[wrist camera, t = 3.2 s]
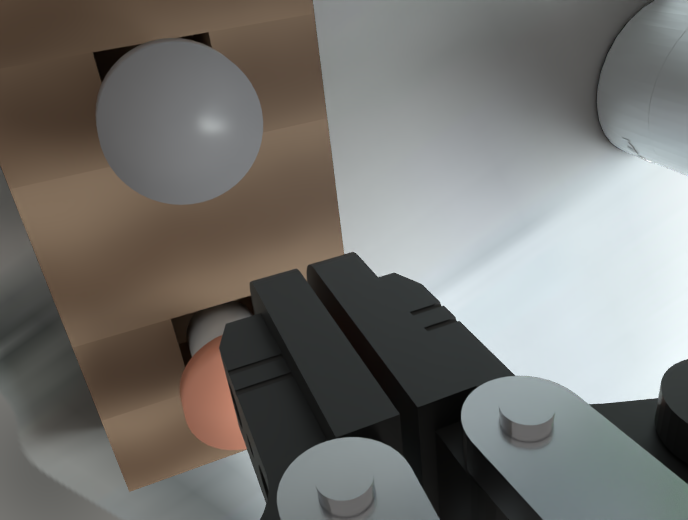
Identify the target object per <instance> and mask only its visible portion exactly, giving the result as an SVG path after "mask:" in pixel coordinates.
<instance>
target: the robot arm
mask: <svg viewBox="0 0 688 520" xmlns="http://www.w3.org/2000/svg"><path fill="white" fill-rule="evenodd" d="M597 110H598V116H599V122H600V124H601V127H602V129H603V132H604V134H605V135H606V136H607V138H608V139H609V140H610V142H611V143H612V144H613V145H615V146H616V147H618V148H619V149H620V150H623V151H625V152H628V153H630V154H633V155H635V156H638V157H639V158H641V159H643V160H646V161H648V162H651V163H654V164H655V163H656V164H658V165H661V166H663V167H666V168H669V169H671V170H674V171H676V172H679V173H681V174H684V175H686V176H688V0H654V1H653V2H651V3H650V4H648V5H647V6H645V7H644V8H642V9H641V10H640V11H639V12H638V13H637V14H636V15H635V16H634V17H633V18H632V19H631V20H630V21H629V22H628V23H627V24H626V25H625V27H624V28H623V29H622V31H621V32H620V33H619V35H618V36H617V38H616V39H615V41H614V43H613V45H612V47H611V49H610V51H609V52H608V54H607V57H606V60H605V62H604V65H603V68H602V71H601V75H600V80H599V85H598V90H597ZM306 274H307V281H306V279H305V278H304V276H303V275H302V274H301V272H300V271H299V270H298V269H292V270H289V271H285V272H282V273H278V274H275V275H271V276H268V277H264V278H261V279H257V280H254V281H250V293H251V299H252V303H253V308H254V313H255V315H253V316H250V317H246V318H243V319H240V320H236V321H233V322H230V323H226V325H225V328H224V332H223V335H222V339H221V342H220V346H219V350H220V354H221V358H222V362H223V366H224V370H225V374H226V378H227V381H228V385H229V389H230V393H231V397H232V401H233V405H234V409H235V413H236V417H237V421H238V425H239V428H240V431H241V434H242V437H243V439H244V442H245V445H246V448H247V451H248V453H249V456H250V459H251V462H252V465H253V467H254V470H255V473H256V475H257V478H258V481H259V484H260V487H261V490H262V493H263V496H264V498H265V501H266V507H265V510H264V513H263V515H262V517H261V519H260V520H688V359H687V360H684V361H681V362H679V363H677V364H675V365H673V366H672V367H670V368H669V369H668V370H667V371H666V373H665V374H664V376H663V378H662V380H661V386H660V392H659V398H656V399H646V400H636V401H626V402H616V403H605V404H588V403H586V402H585V401H584V400H583V399H581V398H580V397H579V396H578V395H576V394H575V393H573V392H572V391H571V390H569V389H568V388H566V387H564V386H562V385H560V384H558V383H555V382H552V381H550V380H546V379H542V378H538V377H530V376H515V375H514V374H513V373H512V372H511V371H510V370H509V369H508V368H507V367H506V366H505V365H504V364H503V363H502V362H501V361H500V360H499V359H498V358H497V357H496V356H495V355H494V354H492V353H491V352H490V351H489V350H488V349H487V348H486V347H485V346H484V345H483V344H482V343H481V342H480V341H479V340H478V339H477V338H476V337H475V336H474V335H473V334H472V333H471V332H470V331H469V330H468V329H467V328H466V327H465V326H464V325H463V324H462V323H461V322H460V321H458V322H457V321H456V318H455V316H454V315H453V314H452V313H451V312H450V311H449V310H448V309H447V308H446V307H445V306H441V304H440V302H439V301H438V300H437V299H436V298H435V297H434V296H433V295H432V294H431V293H430V292H429V291H428V290H427V289H426V288H425V287H424V286H423V285H422V284H420V283H418V282H415V281H413V280H410V279H408V278H406V277H403V276H401V275H399V274H396V273H391V274H388V275H385V276H382V277H377V276H376V275H375V273H374V272H373V271H372V270H371V269H370V268H369V267H368V266H367V265H366V264H365V263H364V261H363V260H362V259H361V258H360V257H359V256H358V255H357V254H356V253H354V252H351V253H348V254H344V255H341V256H337V257H334V258H330V259H327V260H323V261H320V262H316V263H313V264H309V265H308V266H307V271H306Z"/></svg>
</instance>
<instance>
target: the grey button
mask: <svg viewBox="0 0 688 520" xmlns="http://www.w3.org/2000/svg"><path fill="white" fill-rule="evenodd" d="M95 116H96V126H97V132H98V137H99V141H100V146H101V148H102V151H103V154H104V156H105V158H106V160H107V162H108V164H109V165H110V167H111V168H112V170H113V171H114V172H115V174H116V175H117V176H118V177H119V178H120V179H121V180H122V181H123V182H124V183H125V184H126V185H127V186H129V187H130V188H131V189H133V190H134V191H136V192H137V193H139V194H141V195H143V196H145V197H147V198H149V199H152V200H155V201H158V202H162V203H167V204H176V205H186V204H195V203H201V202H204V201H208V200H211V199H213V198H215V197H218V196H220V195H222V194H223V193H225V192H227V191H228V190H230V189H231V188H232V187H234V186H235V185H236V184H237V183H238V182H239V181H240V180H241V179H242V178H243V177H244V176H245V175H246V173H247V172H248V171H249V169H250V168H251V166H252V164H253V163H254V161H255V159H256V157H257V154H258V152H259V149H260V145H261V142H262V135H263V116H262V109H261V105H260V101H259V99H258V96H257V94H256V91H255V89H254V88H253V86H252V84H251V82H250V81H249V79H248V78H247V77H246V75H245V74H244V73H243V72H242V71H241V70H240V69H239V68H238V67H237V66H236V65H235V64H234V63H233V62H231V61H230V60H229V59H228V58H226V57H225V56H224V55H222V54H221V53H220V52H218V51H216V50H215V49H213V48H211V47H209V46H207V45H205V44H203V43H200V42H196V41H193V40H188V39H182V38H165V39H157V40H153V41H149V42H146V43H144V44H141V45H139V46H137V47H135V48H133V49H132V50H130V51H128V52H127V53H126V54H124V55H123V56H122V57H121V58H120V59H119V60H118V61H117V62H116V63H115V64H114V65H113V66H112V67H111V69H110V70H109V71H108V73H107V74H106V76H105V78H104V80H103V82H102V84H101V87H100V90H99V92H98V96H97V102H96V114H95Z"/></svg>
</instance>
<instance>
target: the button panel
mask: <svg viewBox="0 0 688 520" xmlns="http://www.w3.org/2000/svg"><path fill="white" fill-rule="evenodd" d="M165 38H182V39H188V40H193V41H196V42H200V43H203V44H205V45H207V46H209V47H211V48H213V49H215V50H216V51H218V52H220V53H221V54H222V55H224V56H225V57H226V58H228V59H229V60H230V61H231V62H233V63H234V64H235V65H236V66H237V67H238V68H239V69H240V70H241V71H242V72H243V73H244V74H245V75H246V77H247V78H248V79H249V81H250V82H251V84H252V86H253V88H254V89H255V91H256V94H257V96H258V99H259V101H260V105H261V109H262V116H263V135H262V142H261V145H260V149H259V152H258V154H257V157H256V159H255V161H254V163H253V164H252V166H251V168H250V169H249V171H248V172H247V173H246V175H245V176H244V177H243V178H242V179H241V180H240V181H239V182H238V183H237V184H236V185H235V186H234V187H232V188H231V189H230V190H228V191H227V192H225V193H223V194H222V195H220V196H218V197H215V198H213V199H211V200H208V201H204V202H201V203H195V204H186V205H176V204H167V203H162V202H158V201H155V200H152V199H149V198H147V197H145V196H143V195H141V194H139V193H137V192H136V191H134V190H133V189H131V188H130V187H129V186H127V185H126V184H125V183H124V182H123V181H122V180H121V179H120V178H119V177H118V176H117V175H116V174H115V172H114V171H113V170H112V168H111V167H110V165H109V164H108V162H107V160H106V158H105V156H104V154H103V151H102V148H101V146H100V141H99V137H98V132H97V126H96V116H95V114H96V102H97V96H98V92H99V90H100V87H101V84H102V82H103V80H104V78H105V76H106V74H107V73H108V71H109V70H110V69H111V67H112V66H113V65H114V64H115V63H116V62H117V61H118V60H119V59H120V58H121V57H122V56H123V55H124V54H126V53H127V52H128V51H130V50H132V49H133V48H135V47H137V46H139V45H141V44H144V43H146V42H149V41H153V40H157V39H165ZM0 166H1V169H2V171H3V174H4V176H5V179H6V181H7V184H8V186H9V189H10V191H11V194H12V196H13V199H14V201H15V204H16V206H17V209H18V211H19V214H20V217H21V219H22V222H23V224H24V227H25V229H26V232H27V234H28V237H29V239H30V242H31V244H32V247H33V249H34V252H35V254H36V257H37V260H38V262H39V265H40V267H41V270H42V272H43V275H44V277H45V280H46V282H47V285H48V287H49V290H50V292H51V295H52V297H53V300H54V302H55V305H56V308H57V310H58V313H59V315H60V318H61V320H62V323H63V325H64V328H65V330H66V333H67V335H68V338H69V340H70V343H71V345H72V348H73V350H74V353H75V356H76V358H77V361H78V363H79V366H80V368H81V371H82V373H83V376H84V378H85V381H86V383H87V386H88V388H89V391H90V393H91V396H92V398H93V401H94V404H95V406H96V409H97V411H98V414H99V416H100V419H101V421H102V424H103V426H104V429H105V431H106V434H107V436H108V439H109V441H110V444H111V446H112V449H113V452H114V454H115V457H116V459H117V462H118V464H119V467H120V469H121V472H122V474H123V477H124V479H125V482H126V484H127V487H128V489H129V492H130V491H133V490H136V489H139V488H141V487H144V486H147V485H150V484H152V483H155V482H158V481H161V480H164V479H166V478H169V477H172V476H175V475H177V474H180V473H183V472H186V471H189V470H191V469H194V468H197V467H200V466H202V465H205V464H208V463H211V462H214V461H216V460H219V459H222V458H225V457H227V456H230V455H233V454H236V453H239V452H241V451H244V450H247V449H244V450H223V449H218V448H214V447H212V446H209V445H207V444H205V443H203V442H202V441H200V440H199V439H198V438H197V437H196V436H195V435H194V434H193V433H192V432H191V430H190V429H189V427H188V425H187V422H186V419H185V415H184V411H183V407H182V403H181V399H180V392H179V387H180V380H181V377H182V374H183V371H184V369H185V367H186V365H187V364H188V362H189V360H190V359H191V358H192V355H191V352H190V349H189V345H188V342H187V337H186V333H187V327H188V324H189V322H190V320H191V319H192V317H193V316H194V315H195V314H196V313H197V312H198V311H199V310H203V309H206V308H210V307H213V306H216V305H220V304H223V303H227V302H230V301H236V302H239V303H241V304H243V305H245V306H246V307H247V308H248V309H249V310H250V311H251V312H252V314H253V315H255V313H254V308H253V303H252V299H251V293H250V281H254V280H257V279H261V278H264V277H268V276H271V275H275V274H278V273H282V272H285V271H289V270H292V269H298V270H299V271H300V272H301V274H302V275H303V276H304V278H305V279H306V281H307V274H306V271H307V266H308V265H309V264H313V263H316V262H320V261H323V260H327V259H330V258H334V257H337V256H341V255H344V250H343V241H342V233H341V225H340V217H339V209H338V201H337V193H336V185H335V177H334V169H333V161H332V153H331V145H330V137H329V129H328V121H327V113H326V104H325V96H324V88H323V80H322V72H321V64H320V56H319V48H318V40H317V32H316V24H315V16H314V8H313V0H0Z"/></svg>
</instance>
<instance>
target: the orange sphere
mask: <svg viewBox="0 0 688 520" xmlns="http://www.w3.org/2000/svg"><path fill="white" fill-rule="evenodd" d="M250 316H253V314H252V312H251V311H250V310H249V309H248V308H247V307H246V306H245V305H243V304H241V303H239V302H236V301H230V302H227V303H223V304H220V305H216V306H213V307H210V308H206V309H203V310H199V311H198V312H197V313H196V314H195V315H194V316H193V317H192V319H191V320H190V322H189V324H188V327H187V333H186V337H187V342H188V345H189V349H190V352H191V355H192V358H191V359H190V360H189V362H188V364H187V365H186V367H185V369H184V371H183V374H182V377H181V380H180V387H179V392H180V399H181V403H182V407H183V411H184V415H185V419H186V422H187V425H188V427H189V429H190V430H191V432H192V433H193V434H194V435H195V436H196V437H197V438H198V439H199V440H200V441H202V442H203V443H205V444H207V445H209V446H212V447H214V448H218V449H223V450H244V449H247V448H246V445H245V442H244V439H243V437H242V434H241V431H240V428H239V425H238V421H237V417H236V413H235V409H234V405H233V401H232V397H231V393H230V389H229V385H228V381H227V378H226V374H225V370H224V366H223V362H222V358H221V354H220V350H219V346H220V342H221V339H222V335H223V332H224V328H225V325H226V323H230V322H233V321H236V320H240V319H243V318H246V317H250Z"/></svg>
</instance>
